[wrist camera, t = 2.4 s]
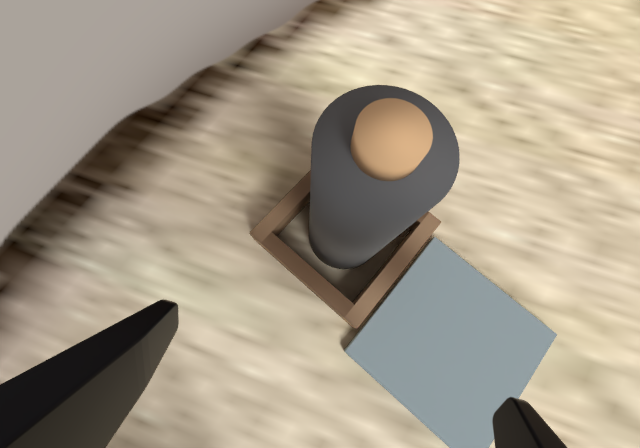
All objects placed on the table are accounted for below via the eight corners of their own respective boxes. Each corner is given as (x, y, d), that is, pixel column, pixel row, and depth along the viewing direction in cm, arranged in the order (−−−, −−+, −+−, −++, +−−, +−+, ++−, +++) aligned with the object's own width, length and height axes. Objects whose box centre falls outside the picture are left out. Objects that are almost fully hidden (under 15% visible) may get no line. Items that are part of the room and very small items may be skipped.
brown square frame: (352, 327, 21) (357, 328, 19) (254, 239, 22) (249, 232, 20) (430, 229, 23) (441, 221, 21) (336, 154, 24) (338, 140, 22)
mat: (469, 465, 19) (474, 470, 18) (343, 350, 21) (344, 351, 20) (550, 333, 21) (557, 334, 21) (431, 238, 23) (434, 236, 22)
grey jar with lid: (348, 284, 22) (410, 245, 9) (294, 237, 22) (277, 136, 9) (392, 231, 23) (505, 127, 10) (339, 188, 24) (379, 38, 11)
